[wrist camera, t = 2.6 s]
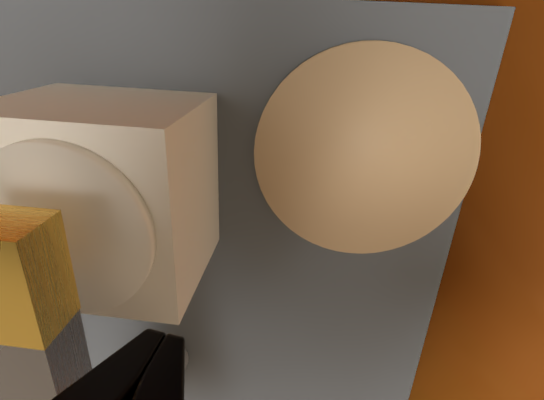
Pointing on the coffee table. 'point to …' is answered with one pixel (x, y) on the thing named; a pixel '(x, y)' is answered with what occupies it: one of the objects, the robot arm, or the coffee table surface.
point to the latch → (38, 307)
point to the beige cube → (120, 188)
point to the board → (296, 171)
